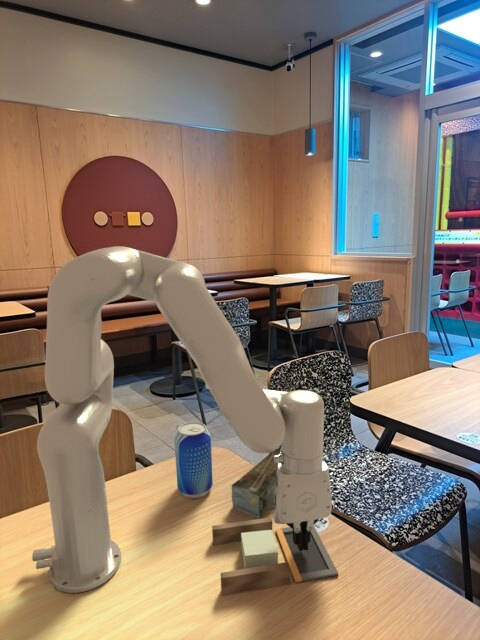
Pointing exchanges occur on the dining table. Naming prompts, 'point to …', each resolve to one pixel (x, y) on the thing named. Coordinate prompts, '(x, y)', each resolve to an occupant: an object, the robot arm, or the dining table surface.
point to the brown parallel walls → (250, 576)
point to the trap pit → (306, 557)
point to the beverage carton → (256, 488)
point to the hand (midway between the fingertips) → (301, 545)
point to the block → (258, 549)
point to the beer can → (193, 459)
